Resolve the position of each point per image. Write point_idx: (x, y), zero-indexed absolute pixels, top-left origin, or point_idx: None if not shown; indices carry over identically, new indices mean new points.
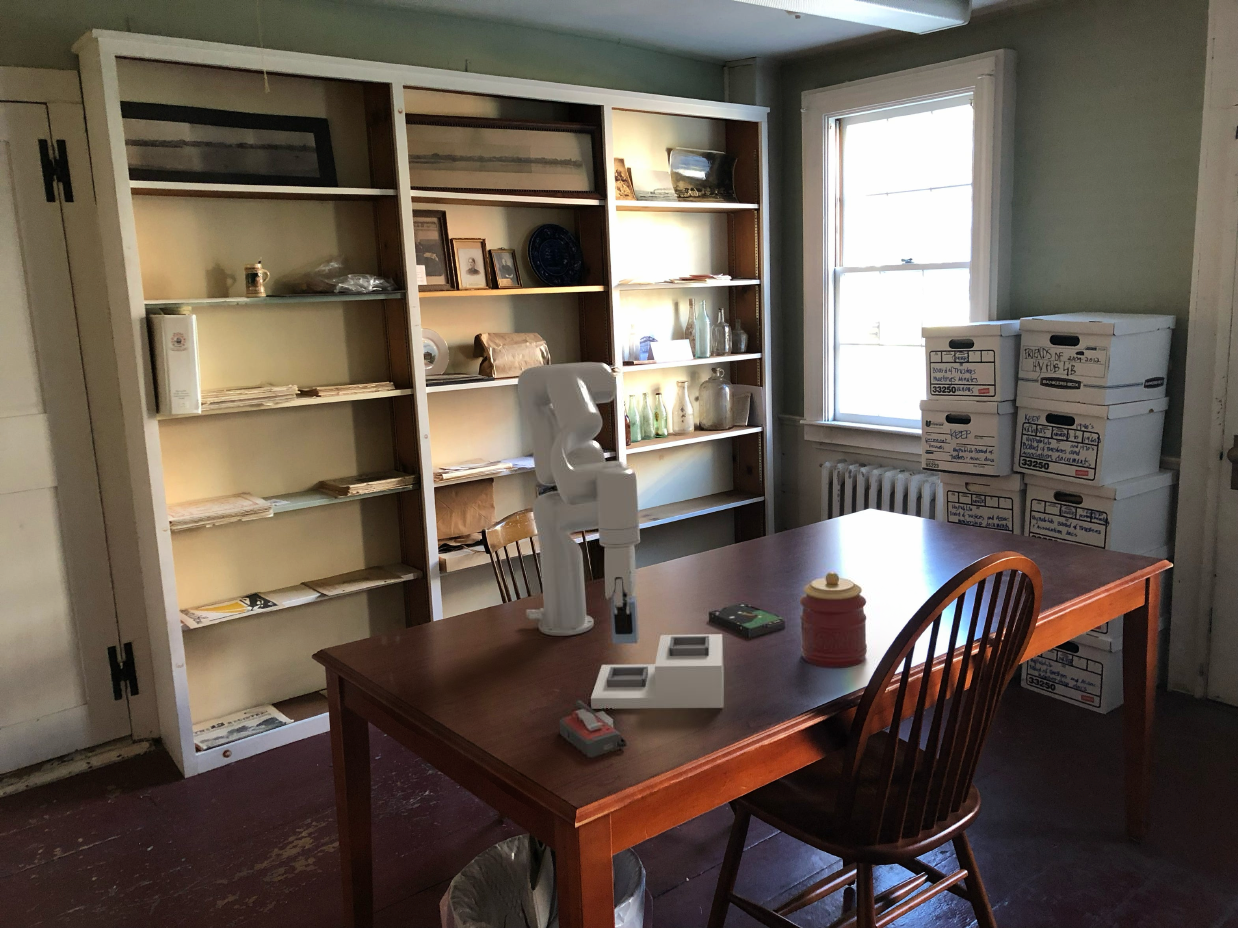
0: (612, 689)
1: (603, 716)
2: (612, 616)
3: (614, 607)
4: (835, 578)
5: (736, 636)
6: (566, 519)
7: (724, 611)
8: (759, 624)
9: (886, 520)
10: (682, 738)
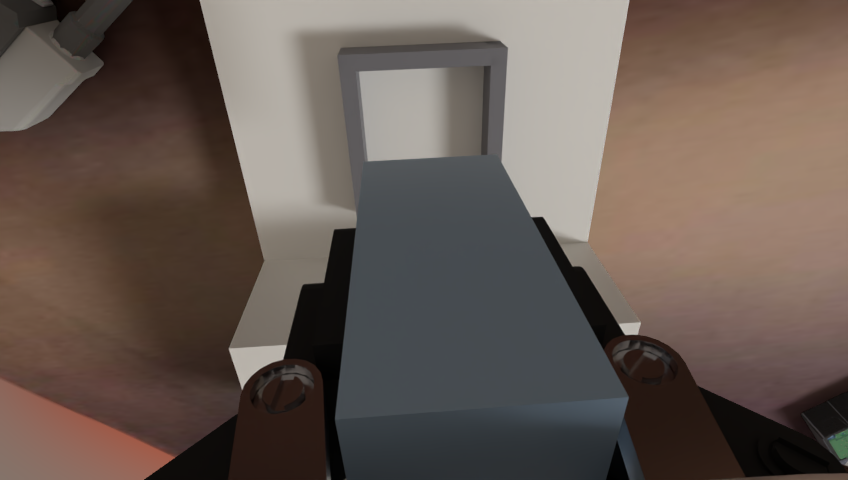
0: (318, 79)
1: (21, 86)
2: (353, 292)
3: (237, 441)
4: None
5: (829, 385)
6: None
7: None
8: (844, 454)
9: None
10: (79, 328)
